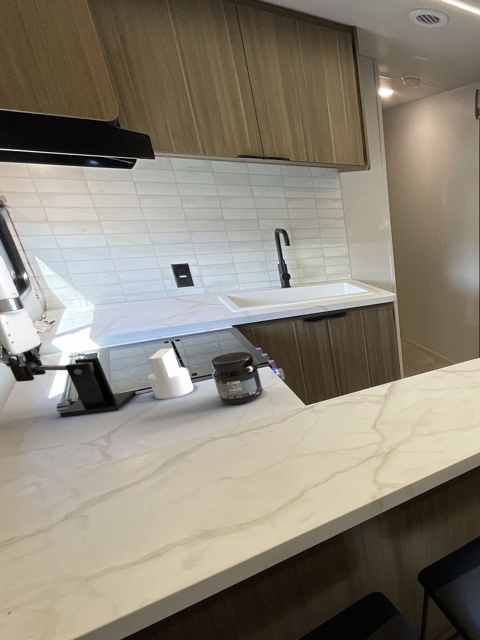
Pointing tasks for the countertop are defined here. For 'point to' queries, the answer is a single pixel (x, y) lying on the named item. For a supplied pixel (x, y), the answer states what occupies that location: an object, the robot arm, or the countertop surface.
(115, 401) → the bracket
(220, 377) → the supplement container
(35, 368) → the tap lever
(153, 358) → the base with upright slab
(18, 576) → the countertop surface
